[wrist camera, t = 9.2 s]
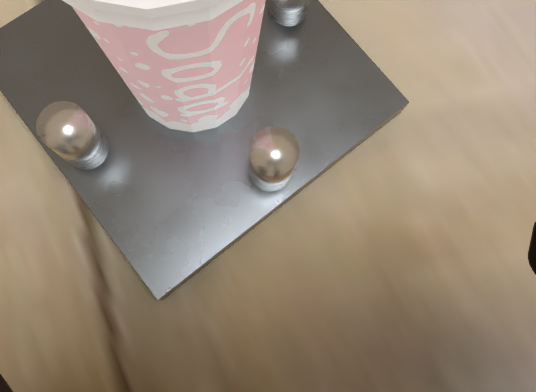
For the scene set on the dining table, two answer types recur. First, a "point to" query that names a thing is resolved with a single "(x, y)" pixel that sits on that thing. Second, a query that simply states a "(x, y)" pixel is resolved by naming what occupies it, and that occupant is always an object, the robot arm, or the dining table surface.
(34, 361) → the dining table surface
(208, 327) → the dining table surface
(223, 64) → the beverage cup
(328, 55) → the chassis plate
